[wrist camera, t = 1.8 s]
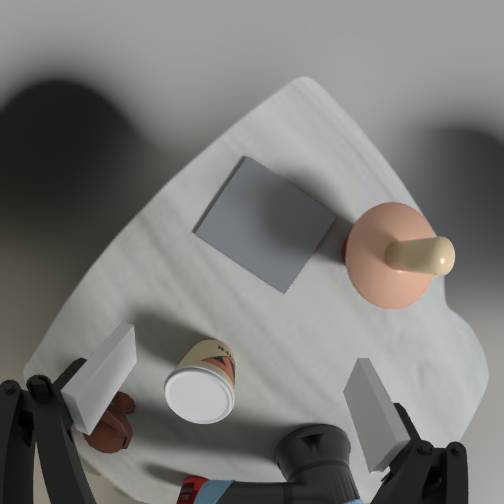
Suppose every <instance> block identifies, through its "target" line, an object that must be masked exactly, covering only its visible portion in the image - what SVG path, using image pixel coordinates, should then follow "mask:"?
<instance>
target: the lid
mask: <svg viewBox="0 0 504 504" xmlns="http://www.w3.org/2000/svg"><path fill="white" fill-rule="evenodd" d="M345 260H346V268H347V272H348V275H349V278H350V280H351V282H352V284H353V286H354V288H355V289H356V291H357V292H358V293H359V294H360V295H361V296H362V297H363V298H364V299H365V300H367V301H368V302H370V303H372V304H374V305H376V306H378V307H381V308H385V309H399V308H403V307H406V306H408V305H410V304H412V303H414V302H415V301H416V300H418V299H419V298H420V297H421V296H422V295H423V294H424V293H425V291H426V290H427V289H428V287H429V286H430V284H431V282H432V280H433V277H434V275H437V276H443V275H446V274H447V273H449V271H450V270H451V269H452V267H453V264H454V261H455V251H454V248H453V245H452V243H451V242H450V241H449V240H448V239H447V238H445V237H434V234H433V231H432V229H431V227H430V225H429V224H428V222H427V221H426V219H425V218H424V217H423V216H422V215H421V214H420V213H419V212H418V211H416V210H415V209H414V208H412V207H410V206H408V205H405V204H402V203H396V202H389V203H383V204H380V205H377V206H375V207H373V208H371V209H369V210H368V211H366V212H365V213H364V214H363V215H361V217H360V218H359V219H358V220H357V221H356V223H355V224H354V226H353V228H352V229H351V231H350V234H349V237H348V240H347V244H346V252H345Z"/></svg>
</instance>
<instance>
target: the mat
mask: <svg viewBox="0 0 504 504" xmlns="http://www.w3.org/2000/svg"><path fill="white" fill-rule="evenodd" d="M336 217H337V216H336V215H335V214H333V213H332V212H330V211H329V210H328V209H326V208H325V207H324V206H322V205H321V204H319V203H318V202H316V201H315V200H314V199H312V198H311V197H309V196H308V195H306V194H305V193H304V192H302V191H301V190H299V189H298V188H296V187H295V186H293V185H292V184H290V183H289V182H287V181H286V180H284V179H283V178H281V177H280V176H278V175H277V174H275V173H274V172H272V171H270V170H269V169H267V168H266V167H264V166H263V165H261V164H259V163H258V162H256V161H255V160H253V159H251V158H250V157H248V156H247V157H246V159H245V160H244V162H243V163H242V164H241V166H240V167H239V169H238V170H237V172H236V173H235V174H234V176H233V177H232V179H231V180H230V182H229V183H228V185H227V186H226V187H225V189H224V190H223V192H222V193H221V195H220V196H219V198H218V199H217V201H216V202H215V204H214V205H213V207H212V208H211V210H210V211H209V213H208V214H207V216H206V217H205V219H204V221H203V222H202V224H201V225H200V227H199V228H198V230H197V231H196V233H195V234H196V235H197V236H198V237H200V238H201V239H203V240H204V241H206V242H207V243H209V244H210V245H212V246H213V247H215V248H216V249H218V250H219V251H221V252H222V253H223V254H225V255H226V256H228V257H229V258H231V259H232V260H234V261H235V262H237V263H238V264H240V265H241V266H243V267H244V268H246V269H247V270H249V271H250V272H252V273H253V274H255V275H256V276H258V277H259V278H261V279H262V280H264V281H265V282H267V283H268V284H270V285H271V286H273V287H274V288H276V289H277V290H279V291H280V292H282V293H283V294H285V293H286V291H287V290H288V289H289V287H290V286H291V284H292V283H293V281H294V280H295V278H296V277H297V276H298V274H299V273H300V271H301V270H302V268H303V267H304V265H305V264H306V262H307V261H308V259H309V258H310V256H311V255H312V253H313V252H314V250H315V249H316V247H317V246H318V244H319V243H320V241H321V240H322V238H323V237H324V235H325V234H326V232H327V231H328V229H329V228H330V226H331V224H332V223H333V221H334V220H335V218H336Z"/></svg>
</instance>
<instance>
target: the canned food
mask: <svg viewBox="0 0 504 504" xmlns="http://www.w3.org/2000/svg"><path fill="white" fill-rule="evenodd" d="M207 481H209V480H208V479H205V478H202V477H196V476H193V477H188V478H186V479H185V480H184V482H183V485H182V488H181V491H180V494H179V497H178V500H177V504H194V501H195V499H196V496H197V494H198V492H199V490H200V488H201V487H202V485H203V484H204V483H206V482H207Z"/></svg>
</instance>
